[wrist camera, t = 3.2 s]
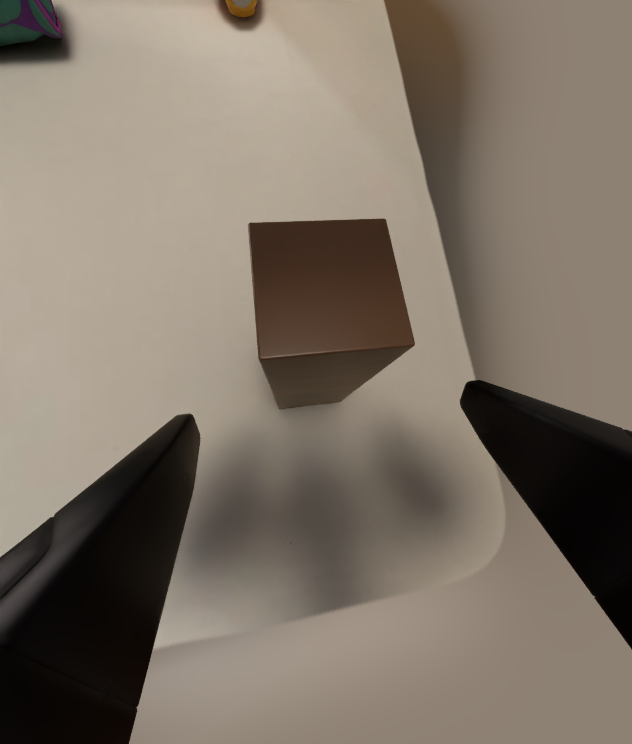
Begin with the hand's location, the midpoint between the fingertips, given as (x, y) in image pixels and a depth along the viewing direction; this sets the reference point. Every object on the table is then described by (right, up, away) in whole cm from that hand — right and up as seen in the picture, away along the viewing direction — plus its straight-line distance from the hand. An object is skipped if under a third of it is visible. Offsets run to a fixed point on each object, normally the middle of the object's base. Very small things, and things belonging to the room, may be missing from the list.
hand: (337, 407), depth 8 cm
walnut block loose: (-1, +1, +11) cm, 11 cm away
